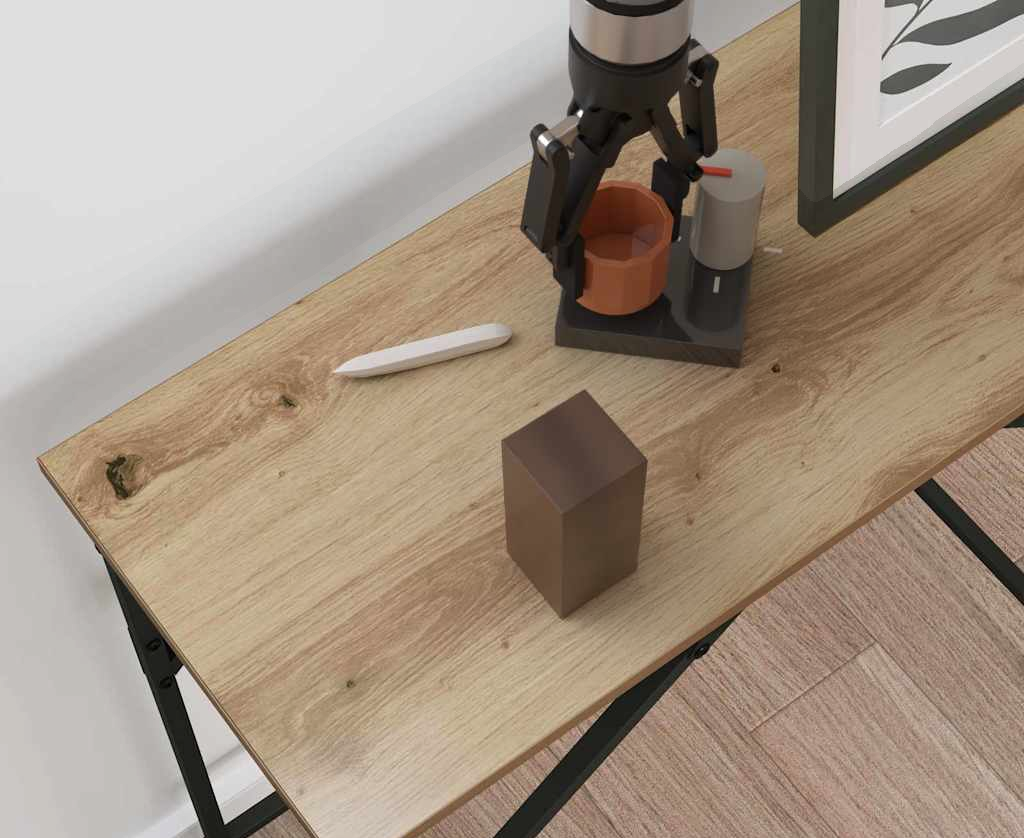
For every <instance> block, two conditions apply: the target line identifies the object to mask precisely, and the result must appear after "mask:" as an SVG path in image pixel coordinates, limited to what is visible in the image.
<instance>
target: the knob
mask: <svg viewBox="0 0 1024 838" xmlns="http://www.w3.org/2000/svg"><path fill="white" fill-rule="evenodd" d="M698 165H699V166H700V167H701V168H702V169H703V170H704V174H703V176H702V177H701V178H700V180H698V181H697V182H695V189H694V199H693V207H692V215H691V216H692V224H691V232H690V241H689V245H690V250H691V252H692V254H693V256H694V257H695V258H696V259H697V260H698V261H699V262H700V263H701V264H703V265H705V266H707V267H709V268H712V269H716V270H731V269H735V268H738V267H740V266H742V265H743V264H745V263H746V262H747V261H748V260H749V259H750V258H751V256H752V255H753V252H754V253H755V249H756V243H757V237H758V232H759V231H758V230H759V226H760V220H761V214H762V208H763V203H764V196H765V191H766V185H767V179H768V178H767V177H768V176H767V170H766V168H765V166H764V164H763V162H762V161H761V160H760V158H758V157H757V156H755V155H754V154H752V153H750V152H748V151H746V150H743V149H737V148H723V149H719V150H717V151H716V153H715V154H714V155H713V156H711V157H710V158H705V157H704V158H703V160H702V161H701V162H700V164H698Z"/></svg>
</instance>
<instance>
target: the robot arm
mask: <svg viewBox="0 0 1024 838" xmlns="http://www.w3.org/2000/svg"><path fill="white" fill-rule="evenodd" d="M695 2H696V1H695V0H569V13H568V14H569V28H568V49H567V50H568V52H567V54H568V55H567V56H568V57H567V59H568V60H567V69H568V76H569V80H570V84H571V88H572V93H573V94H572V98H571V101H570V102H569V105H568V106H567V109H566V117H565V118H564V119H563V120H561V121H560V122H558V123H557V124H556V125H554V126H552V127H551V128H550V129H549V128H548V127H547V125H546V124H544V123H538V124H536V125H534V127H532V129H531V130H530V133H529V138H530V139H529V140H530V143H531V146H532V150H533V153H532V159H531V165H530V170H529V176H528V182H527V186H526V192H525V198H524V203H523V209H522V215H521V220H520V225H519V230H520V231H521V233H523V235H524V236H525V237H526V238H527V239H528V240H529V242H531V243H532V245H533V246H534V247H535V248H536V249H537V250H538V251H539V252H540V253H541V254H544V256H545V258H546V260H547V262H548V263H550V264H551V266H552V278H553V279H554V280H555V281H556V282H557V283H558V284H559V285H560V286H561V288H562V287H563V289H564V290H565V291H566V292H567V293H568V294H569V295H570V296H571V297H572V298H573V299H574V301H576V300H577V299H579V298H581V297H582V296H583V286H584V256H585V238H584V237H583V236H582V235H581V234H580V233H579V232H578V231H579V229H580V227H581V225H582V222H583V220H584V218H585V215H586V213H587V211H588V209H589V206H590V204H591V202H592V200H593V197H594V195H595V193H596V191H597V188H598V186H599V184H600V183H601V181H602V179H603V177H604V175H605V172H606V171H607V170H608V169H612V168H614V167H615V164H616V162H617V160H618V159H619V156H620V154H621V152H622V149H623V148H624V146H625V145H626V144H628V143H629V142H630V141H632V140H633V139H634V138H637V137H641V136H643V135H645V134H647V133H650V134H651V136H652V138H653V140H654V141H655V143H656V145H657V146H658V148H659V149H660V151H661V153H662V155H663V156H664V157H666V160H665V159H664V157H662V156H661V157H659V158H657V159H656V160H654V161H652V170H651V171H652V172H651V182H650V190H652V191H653V192H655V193H657V194H658V195H660V196H661V197H663V199H664V201H665V203H666V205H667V206H668V208H669V210H670V212H671V214H672V216H673V218H674V223H673V232H672V242H671V243H673V242H675V241H676V240H678V239H679V231H680V222H681V215H682V212H683V204H684V200H685V199H687V198H688V195H689V193H690V189H691V183H692V184H696V182H697V181H698V180H700V178H701V177H702V176H703V174H704V170H703V169H702V168H701V167H700V166H699V165H700V164H699V163H698V161H699V160H700V159H701V158H702V157H704V159H705V158H710V157H711V156H713V155H714V154H715V153H716V151H718V149H719V141H718V127H717V116H716V115H717V113H716V102H715V89H714V84H715V80H716V78H717V73H718V70H719V67H720V66H719V65H720V61H719V60H718V59H717V58H716V57H715V56H714V55H713V54H712V53H711V52H710V51H709V50H707V49H706V47H704V45H702V43H700V41H698V40H697V39H696V38H692V30H693V22H694V12H695ZM676 94H678V98H679V100H678V101H679V108H680V118H681V125H682V134H681V132H680V130H679V128H678V127H677V126H678V122H677V121H676V119H675V118H674V115H673V113H672V112H671V108H670V107H669V103H670V102H671V100H672V99H673V97H675V96H676ZM682 135H683V136H682Z"/></svg>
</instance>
